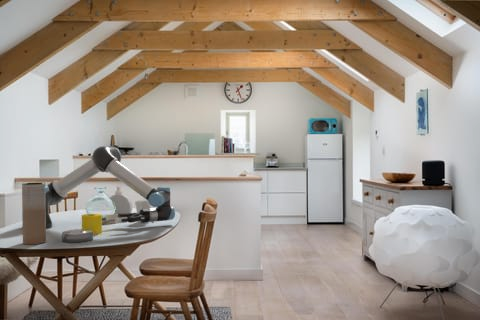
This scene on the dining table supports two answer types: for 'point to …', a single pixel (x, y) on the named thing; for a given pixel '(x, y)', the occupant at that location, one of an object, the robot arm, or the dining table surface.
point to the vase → (33, 213)
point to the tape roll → (92, 223)
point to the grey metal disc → (77, 236)
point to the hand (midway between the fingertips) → (110, 219)
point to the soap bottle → (121, 202)
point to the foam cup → (142, 205)
